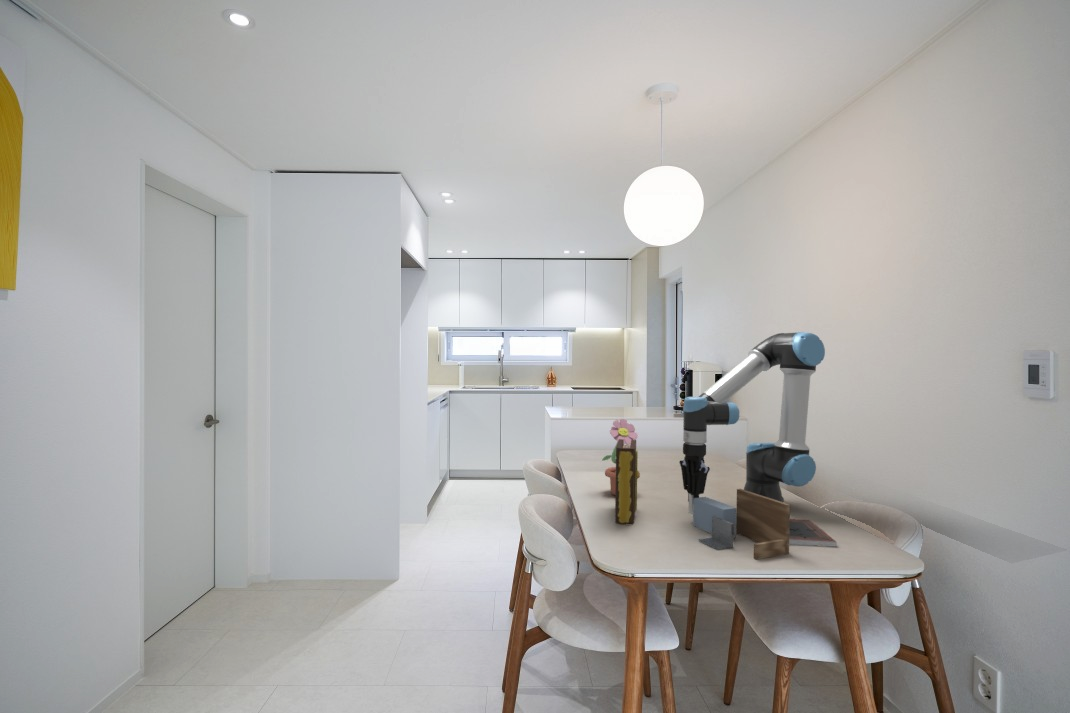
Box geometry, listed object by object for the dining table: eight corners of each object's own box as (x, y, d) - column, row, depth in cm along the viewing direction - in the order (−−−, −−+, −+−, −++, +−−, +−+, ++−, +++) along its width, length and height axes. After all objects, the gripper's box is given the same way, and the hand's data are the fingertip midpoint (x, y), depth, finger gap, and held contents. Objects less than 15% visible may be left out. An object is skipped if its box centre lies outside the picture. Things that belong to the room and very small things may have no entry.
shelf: (739, 532, 173) (740, 488, 173) (788, 553, 156) (789, 504, 156) (709, 537, 168) (709, 492, 168) (756, 559, 151) (757, 508, 151)
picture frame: (758, 523, 185) (778, 546, 164) (758, 516, 185) (778, 537, 164) (809, 526, 183) (836, 549, 162) (809, 519, 183) (836, 541, 162)
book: (637, 525, 179) (638, 449, 179) (611, 523, 181) (612, 448, 181) (638, 506, 201) (639, 438, 201) (615, 505, 203) (616, 437, 203)
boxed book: (704, 523, 182) (705, 496, 182) (735, 537, 169) (736, 508, 169) (692, 525, 180) (693, 497, 180) (723, 539, 167) (723, 509, 167)
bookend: (714, 538, 167) (714, 515, 167) (733, 547, 160) (733, 523, 160) (698, 541, 165) (699, 518, 165) (717, 550, 158) (717, 526, 158)
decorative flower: (609, 499, 210) (610, 421, 210) (597, 491, 223) (598, 417, 223) (645, 498, 213) (646, 421, 213) (631, 489, 227) (632, 417, 227)
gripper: (673, 440, 188) (672, 508, 188) (698, 446, 176) (696, 519, 176) (691, 439, 191) (689, 506, 191) (716, 445, 179) (715, 517, 179)
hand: (693, 513), depth 184 cm, fingers closed
